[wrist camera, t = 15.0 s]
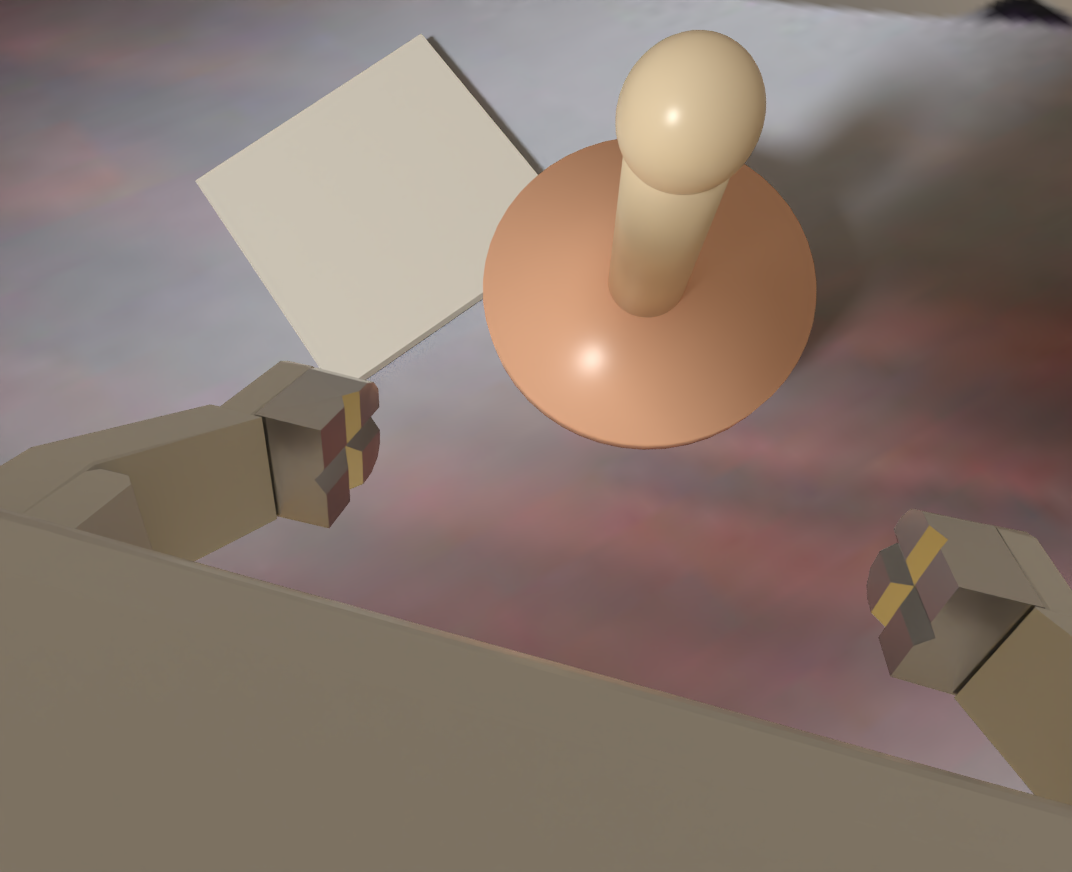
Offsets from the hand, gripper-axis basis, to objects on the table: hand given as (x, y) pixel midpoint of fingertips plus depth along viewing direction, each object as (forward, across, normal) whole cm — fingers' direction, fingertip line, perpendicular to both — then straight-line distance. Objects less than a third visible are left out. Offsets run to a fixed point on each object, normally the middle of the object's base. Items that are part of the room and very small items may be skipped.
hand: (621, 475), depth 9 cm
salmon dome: (+17, 0, +3) cm, 17 cm away
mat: (+24, +15, +4) cm, 28 cm away
